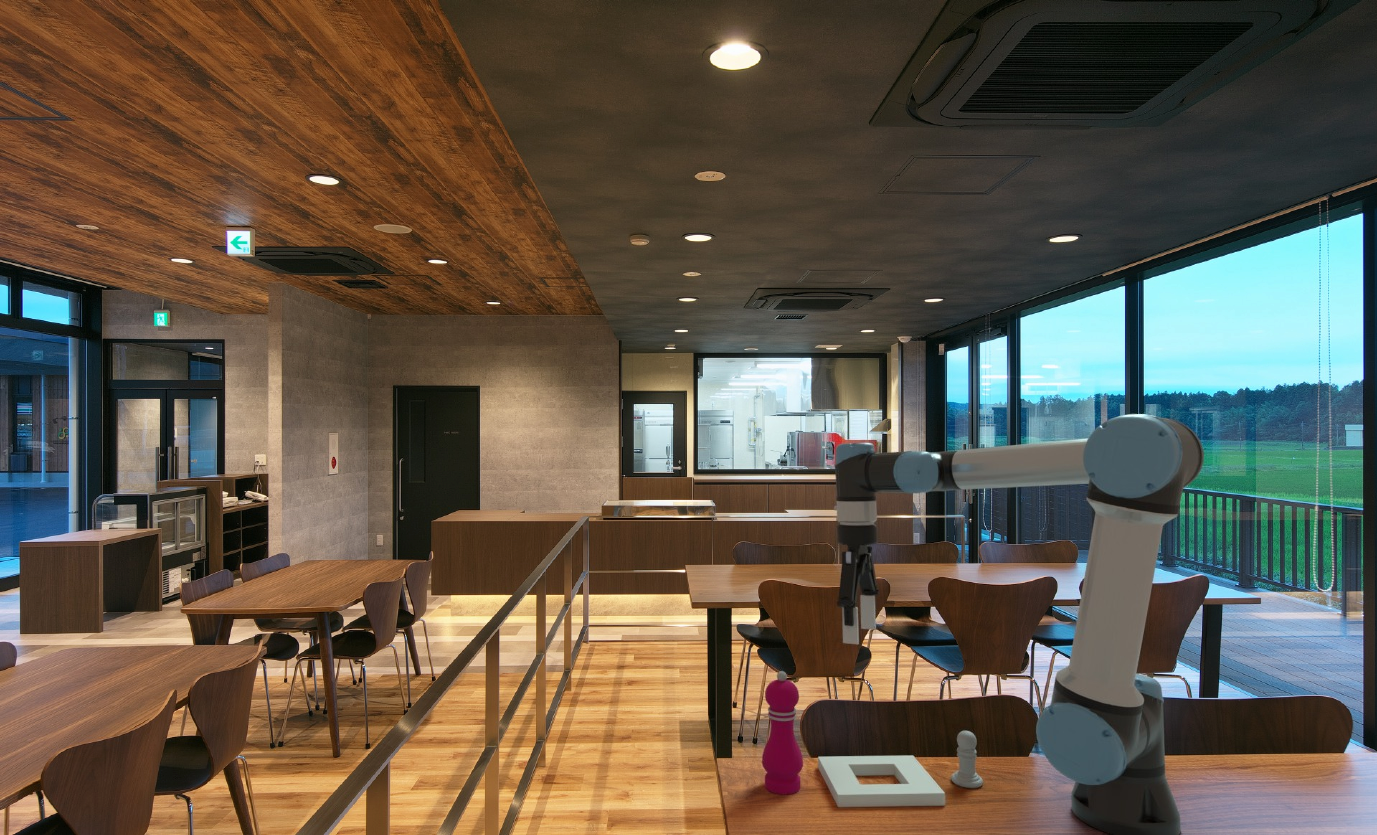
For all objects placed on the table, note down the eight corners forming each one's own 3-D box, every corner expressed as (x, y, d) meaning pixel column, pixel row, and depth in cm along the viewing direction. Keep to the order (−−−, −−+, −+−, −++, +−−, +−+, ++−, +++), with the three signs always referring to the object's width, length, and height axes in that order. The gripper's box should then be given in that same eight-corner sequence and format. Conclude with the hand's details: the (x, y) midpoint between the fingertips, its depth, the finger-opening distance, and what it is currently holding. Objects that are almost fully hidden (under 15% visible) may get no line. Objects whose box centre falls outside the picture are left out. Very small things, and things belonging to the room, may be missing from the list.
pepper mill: (802, 779, 134) (801, 666, 135) (804, 797, 127) (803, 677, 128) (762, 777, 135) (761, 665, 136) (762, 795, 128) (761, 676, 129)
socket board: (913, 766, 140) (912, 755, 140) (945, 805, 124) (945, 793, 124) (818, 767, 139) (818, 756, 139) (838, 807, 123) (838, 794, 123)
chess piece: (989, 784, 132) (988, 732, 133) (971, 791, 129) (969, 738, 130) (963, 773, 136) (962, 723, 137) (944, 781, 133) (943, 729, 134)
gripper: (853, 519, 156) (856, 622, 154) (818, 527, 133) (821, 648, 132) (890, 519, 152) (893, 625, 151) (860, 528, 130) (863, 652, 128)
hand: (860, 636), depth 141 cm, fingers open, 13 cm apart
